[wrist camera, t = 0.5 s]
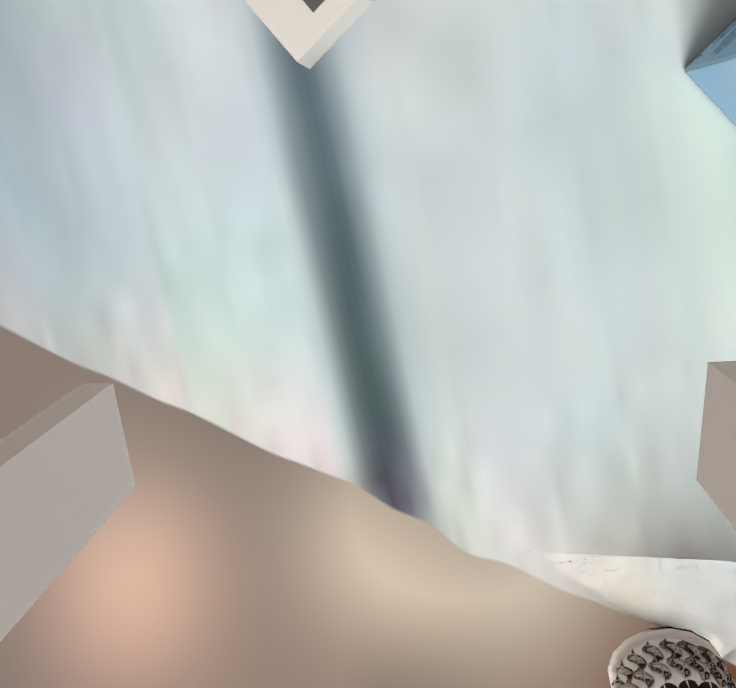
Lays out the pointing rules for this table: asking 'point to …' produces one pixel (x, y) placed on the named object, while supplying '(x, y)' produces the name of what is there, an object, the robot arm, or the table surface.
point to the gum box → (718, 71)
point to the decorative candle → (668, 661)
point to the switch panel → (308, 23)
